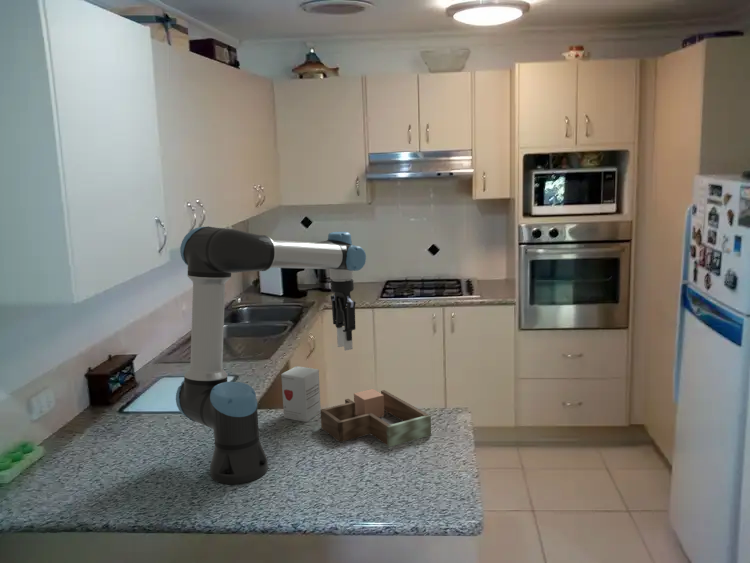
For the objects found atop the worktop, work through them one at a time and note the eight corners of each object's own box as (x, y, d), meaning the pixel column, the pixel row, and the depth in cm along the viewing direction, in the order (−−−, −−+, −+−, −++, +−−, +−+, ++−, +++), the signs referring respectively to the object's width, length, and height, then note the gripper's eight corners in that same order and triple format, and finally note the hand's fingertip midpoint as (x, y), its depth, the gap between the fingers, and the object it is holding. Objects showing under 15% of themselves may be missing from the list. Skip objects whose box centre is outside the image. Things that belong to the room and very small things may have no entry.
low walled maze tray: (389, 447, 193) (388, 427, 192) (345, 417, 216) (345, 399, 215) (431, 435, 200) (430, 415, 199) (384, 407, 223) (384, 389, 222)
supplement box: (282, 418, 217) (279, 373, 214) (298, 408, 225) (295, 365, 222) (306, 422, 213) (303, 377, 210) (321, 412, 220) (319, 368, 218)
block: (365, 421, 213) (364, 399, 211) (354, 414, 218) (353, 393, 217) (384, 416, 216) (383, 395, 215) (373, 409, 222) (372, 388, 221)
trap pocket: (339, 442, 197) (338, 422, 196) (321, 428, 208) (320, 409, 207) (372, 433, 203) (371, 414, 202) (352, 420, 213) (351, 402, 212)
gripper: (364, 281, 216) (367, 352, 221) (340, 274, 231) (343, 340, 236) (343, 284, 213) (347, 356, 217) (320, 276, 227) (323, 344, 232)
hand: (345, 347), depth 226 cm, fingers open, 4 cm apart
